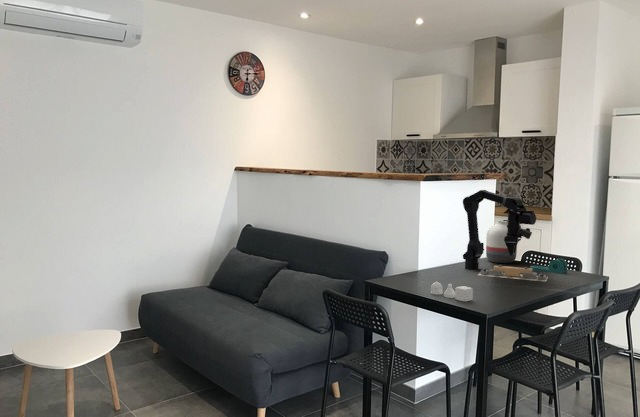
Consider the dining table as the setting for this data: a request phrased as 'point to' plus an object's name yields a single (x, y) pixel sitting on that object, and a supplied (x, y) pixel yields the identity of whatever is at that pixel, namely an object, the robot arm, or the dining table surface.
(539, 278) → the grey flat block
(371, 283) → the dining table surface
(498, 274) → the lower chain end
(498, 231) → the vase
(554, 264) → the teal handled piece
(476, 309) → the dining table surface
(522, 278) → the board
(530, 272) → the master link
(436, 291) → the container set
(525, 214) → the robot arm
